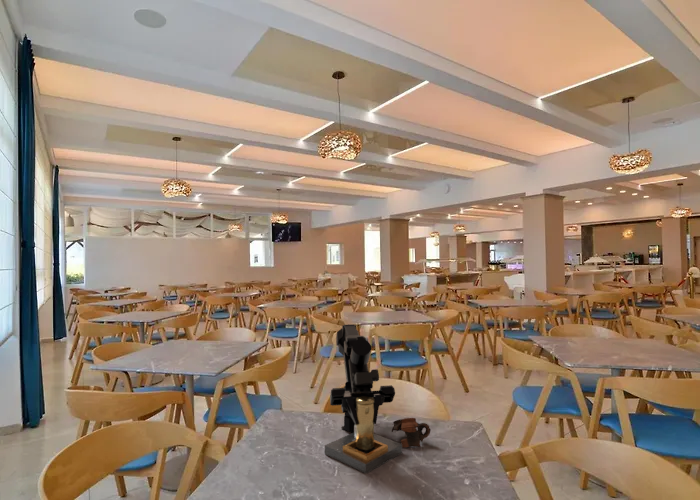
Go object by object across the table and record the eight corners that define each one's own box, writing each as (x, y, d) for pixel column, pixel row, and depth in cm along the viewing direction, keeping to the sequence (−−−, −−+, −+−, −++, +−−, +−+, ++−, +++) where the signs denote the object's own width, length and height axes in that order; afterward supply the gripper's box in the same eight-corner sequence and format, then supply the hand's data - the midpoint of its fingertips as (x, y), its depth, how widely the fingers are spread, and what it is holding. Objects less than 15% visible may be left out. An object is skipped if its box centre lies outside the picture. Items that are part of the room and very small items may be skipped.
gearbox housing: (361, 436, 130) (361, 419, 130) (402, 452, 119) (401, 433, 119) (324, 454, 119) (324, 434, 119) (365, 473, 108) (365, 452, 108)
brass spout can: (354, 442, 118) (354, 396, 118) (372, 440, 118) (372, 395, 118) (359, 454, 110) (358, 406, 110) (377, 453, 111) (377, 405, 111)
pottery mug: (392, 450, 122) (387, 420, 127) (398, 451, 130) (394, 424, 134) (431, 443, 120) (425, 413, 124) (436, 445, 128) (429, 417, 132)
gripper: (330, 360, 118) (334, 413, 107) (393, 358, 121) (403, 409, 110) (328, 379, 126) (332, 430, 115) (387, 377, 129) (396, 426, 117)
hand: (366, 424), depth 114 cm, fingers closed on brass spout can, 5 cm apart
